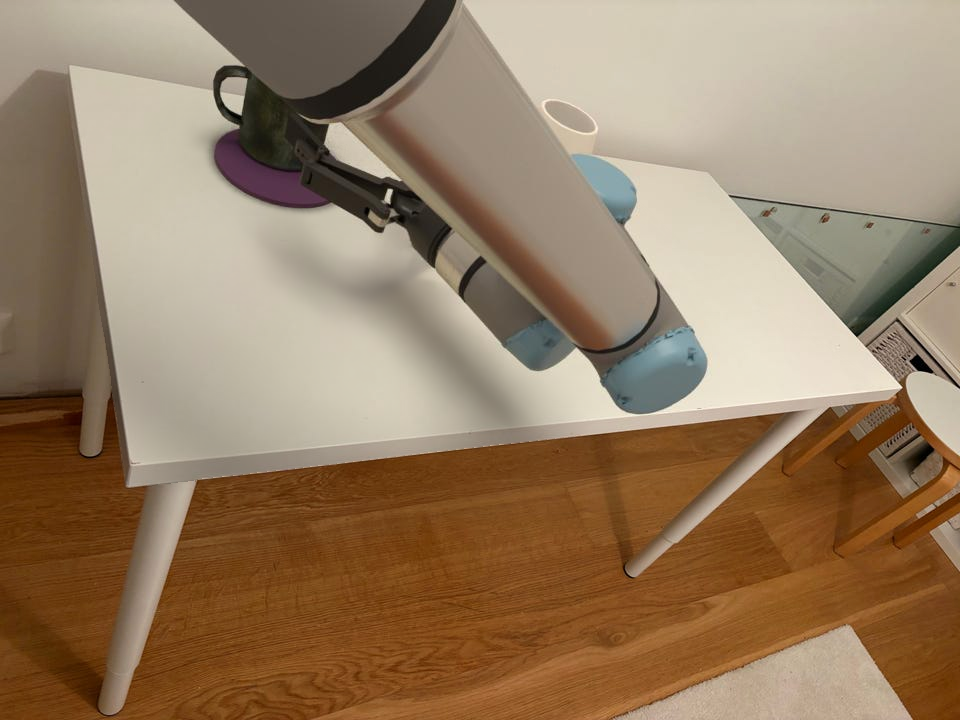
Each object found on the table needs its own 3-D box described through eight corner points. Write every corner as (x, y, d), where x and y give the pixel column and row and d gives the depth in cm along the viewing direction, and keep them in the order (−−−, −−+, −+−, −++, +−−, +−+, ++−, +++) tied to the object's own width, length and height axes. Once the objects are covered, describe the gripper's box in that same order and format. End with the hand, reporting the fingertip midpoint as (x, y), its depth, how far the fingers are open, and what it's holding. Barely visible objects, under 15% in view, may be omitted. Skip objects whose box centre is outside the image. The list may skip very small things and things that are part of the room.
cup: (527, 165, 116) (565, 86, 107) (585, 216, 112) (630, 139, 103) (471, 176, 107) (507, 91, 98) (532, 232, 103) (576, 149, 94)
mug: (331, 179, 92) (355, 94, 84) (211, 166, 85) (224, 72, 77) (313, 131, 98) (334, 48, 90) (200, 115, 91) (211, 23, 83)
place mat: (185, 145, 87) (185, 141, 86) (282, 120, 98) (283, 116, 98) (280, 222, 84) (281, 218, 83) (368, 187, 95) (370, 183, 95)
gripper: (351, 298, 66) (234, 160, 74) (526, 250, 83) (416, 142, 91) (373, 235, 62) (245, 94, 69) (554, 197, 78) (436, 87, 86)
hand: (342, 121), depth 80 cm, fingers open, 13 cm apart
